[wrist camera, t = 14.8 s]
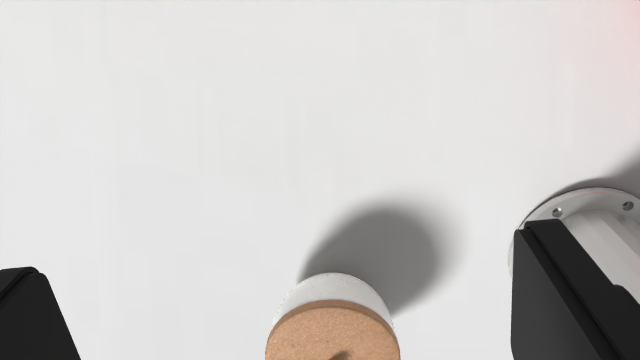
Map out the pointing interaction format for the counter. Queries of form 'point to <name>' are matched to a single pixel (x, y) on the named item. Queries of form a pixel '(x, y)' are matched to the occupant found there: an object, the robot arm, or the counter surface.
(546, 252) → the robot arm
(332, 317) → the lidded jar
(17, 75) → the counter surface
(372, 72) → the counter surface
